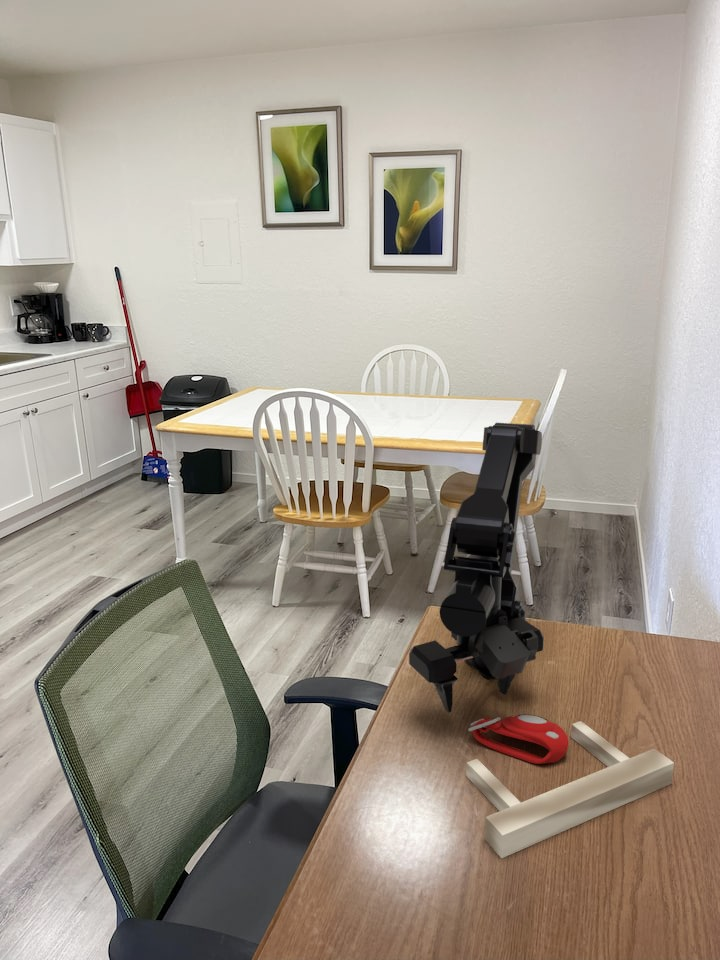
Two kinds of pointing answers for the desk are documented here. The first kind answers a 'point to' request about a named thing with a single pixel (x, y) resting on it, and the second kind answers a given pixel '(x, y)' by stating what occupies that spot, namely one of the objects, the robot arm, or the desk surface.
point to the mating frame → (569, 794)
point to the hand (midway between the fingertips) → (475, 702)
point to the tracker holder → (524, 736)
